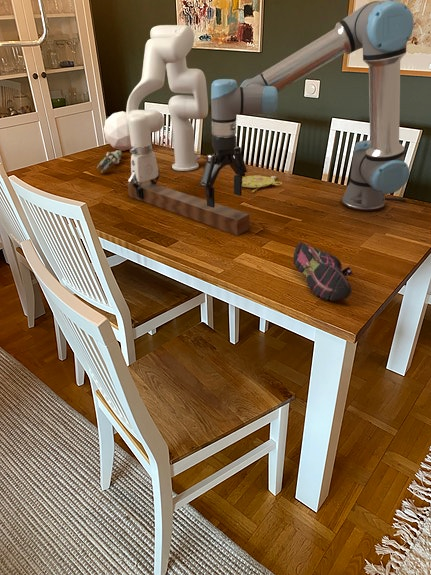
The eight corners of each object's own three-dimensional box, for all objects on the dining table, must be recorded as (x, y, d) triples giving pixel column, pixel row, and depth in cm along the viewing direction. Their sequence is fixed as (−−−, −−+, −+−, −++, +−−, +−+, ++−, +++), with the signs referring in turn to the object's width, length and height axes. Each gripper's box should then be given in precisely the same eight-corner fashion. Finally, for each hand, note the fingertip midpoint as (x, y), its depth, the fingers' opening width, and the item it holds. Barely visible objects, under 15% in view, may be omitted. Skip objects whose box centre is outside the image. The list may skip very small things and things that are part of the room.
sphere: (117, 161, 243) (97, 129, 240) (149, 144, 245) (129, 111, 242) (115, 152, 224) (93, 117, 222) (149, 133, 226) (128, 98, 224)
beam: (128, 196, 179) (127, 183, 176) (140, 191, 183) (139, 178, 180) (237, 235, 146) (237, 220, 143) (249, 229, 150) (249, 213, 147)
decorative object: (249, 169, 197) (291, 174, 187) (250, 175, 198) (291, 179, 189) (226, 183, 183) (269, 189, 173) (226, 189, 184) (269, 195, 174)
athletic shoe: (338, 290, 105) (377, 282, 109) (296, 227, 116) (333, 222, 121) (320, 318, 113) (358, 309, 118) (283, 256, 125) (319, 251, 129)
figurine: (101, 154, 197) (119, 141, 223) (91, 167, 200) (110, 152, 227) (114, 165, 199) (130, 151, 225) (103, 178, 203) (121, 162, 229)
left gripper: (129, 156, 158) (136, 204, 168) (165, 146, 169) (169, 191, 179) (117, 153, 163) (123, 199, 172) (152, 143, 173) (157, 187, 183)
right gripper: (205, 145, 126) (207, 214, 137) (258, 129, 141) (256, 192, 153) (186, 141, 130) (190, 208, 142) (240, 125, 146) (239, 187, 157)
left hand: (147, 195), depth 175 cm, fingers closed on beam, 6 cm apart
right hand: (224, 200), depth 147 cm, fingers open, 13 cm apart
